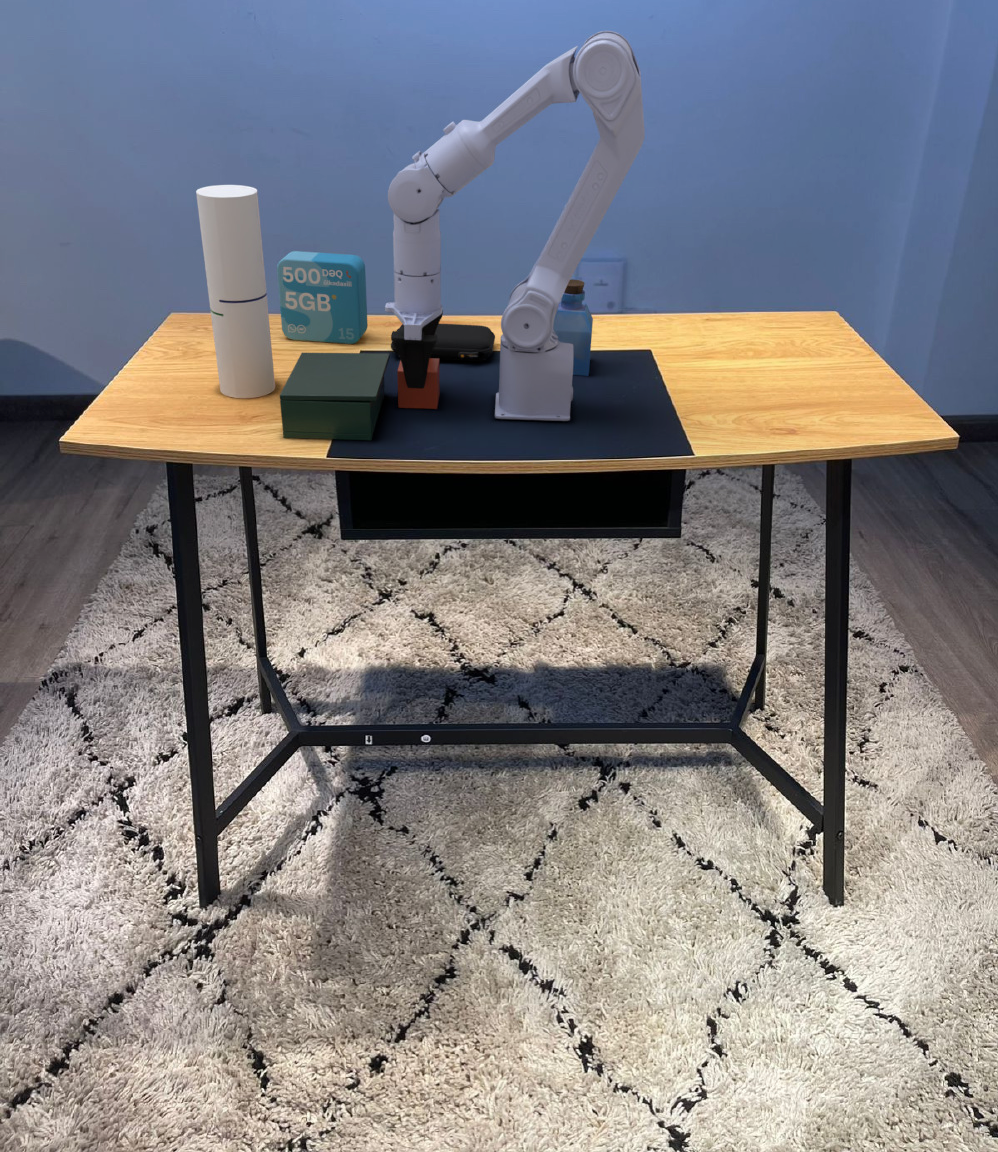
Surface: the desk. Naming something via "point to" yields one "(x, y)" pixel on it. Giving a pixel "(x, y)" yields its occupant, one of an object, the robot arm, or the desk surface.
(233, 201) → the cylindrical container
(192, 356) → the desk surface
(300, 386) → the bin lid
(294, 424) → the bin
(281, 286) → the data package
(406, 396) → the block
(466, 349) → the carrying case
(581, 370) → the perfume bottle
